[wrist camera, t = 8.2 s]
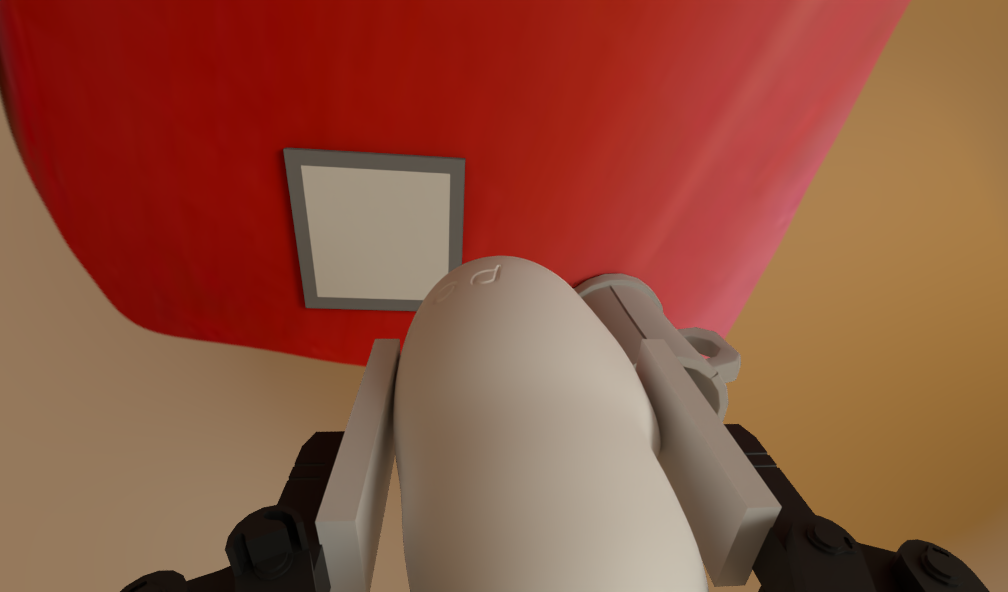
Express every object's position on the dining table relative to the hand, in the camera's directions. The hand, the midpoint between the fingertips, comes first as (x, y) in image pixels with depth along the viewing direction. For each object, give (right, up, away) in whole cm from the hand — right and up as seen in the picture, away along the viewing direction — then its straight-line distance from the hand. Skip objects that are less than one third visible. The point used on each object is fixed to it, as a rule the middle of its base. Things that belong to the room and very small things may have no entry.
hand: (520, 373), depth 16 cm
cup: (+9, +1, +23) cm, 25 cm away
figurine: (0, +1, +2) cm, 3 cm away
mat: (-10, +7, +19) cm, 22 cm away
